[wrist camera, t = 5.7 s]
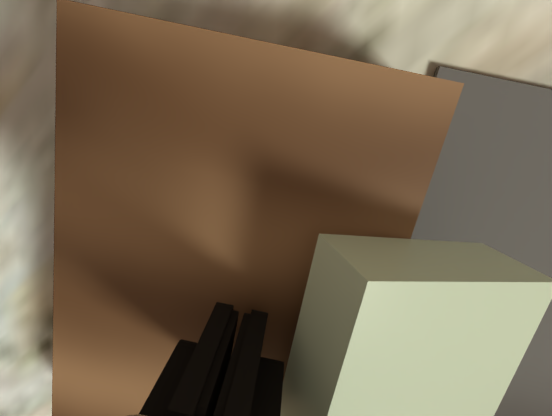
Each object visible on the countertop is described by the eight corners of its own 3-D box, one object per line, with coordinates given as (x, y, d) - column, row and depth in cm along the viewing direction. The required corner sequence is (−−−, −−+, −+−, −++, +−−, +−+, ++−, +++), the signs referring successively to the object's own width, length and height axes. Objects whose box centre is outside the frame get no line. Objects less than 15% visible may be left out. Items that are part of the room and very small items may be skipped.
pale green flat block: (401, 443, 13) (446, 512, 11) (261, 472, 11) (283, 562, 9) (482, 243, 11) (559, 282, 9) (318, 233, 9) (368, 281, 7)
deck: (306, 444, 18) (307, 537, 14) (105, 397, 18) (51, 475, 14) (414, 92, 12) (464, 83, 9) (131, 33, 13) (57, -2, 9)
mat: (532, 512, 18) (536, 519, 17) (311, 460, 18) (311, 466, 18) (766, 135, 12) (777, 136, 12) (437, 67, 12) (440, 66, 12)
